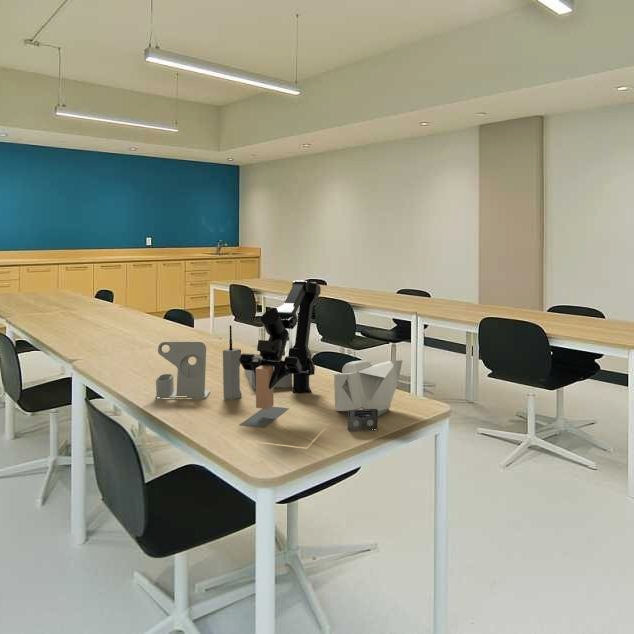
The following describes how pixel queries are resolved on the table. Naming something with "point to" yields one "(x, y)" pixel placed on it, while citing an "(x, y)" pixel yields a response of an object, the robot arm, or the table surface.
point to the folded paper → (366, 385)
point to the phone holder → (184, 371)
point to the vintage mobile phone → (231, 372)
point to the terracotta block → (264, 387)
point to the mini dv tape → (362, 419)
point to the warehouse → (283, 382)
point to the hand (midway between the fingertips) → (262, 387)
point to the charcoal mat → (264, 417)
